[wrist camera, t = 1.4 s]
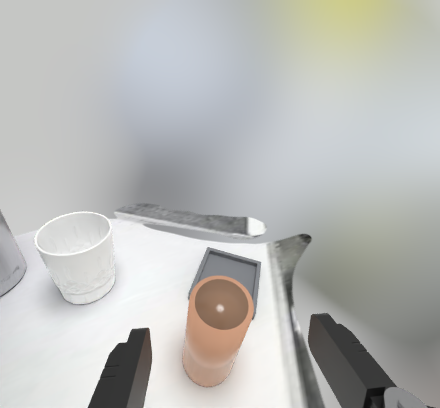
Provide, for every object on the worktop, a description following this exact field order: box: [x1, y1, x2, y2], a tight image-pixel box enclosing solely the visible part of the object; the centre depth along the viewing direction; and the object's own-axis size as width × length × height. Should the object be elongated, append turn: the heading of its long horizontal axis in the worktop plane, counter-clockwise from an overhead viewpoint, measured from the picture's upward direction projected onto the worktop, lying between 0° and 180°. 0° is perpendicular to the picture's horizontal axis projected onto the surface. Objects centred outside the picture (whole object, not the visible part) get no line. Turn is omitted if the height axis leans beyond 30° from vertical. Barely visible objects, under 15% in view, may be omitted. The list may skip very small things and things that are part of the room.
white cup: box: [34, 212, 115, 304], centre depth 29 cm, size 8×8×10 cm
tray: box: [188, 247, 261, 319], centre depth 35 cm, size 10×10×2 cm
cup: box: [183, 275, 254, 387], centre depth 24 cm, size 6×6×11 cm
